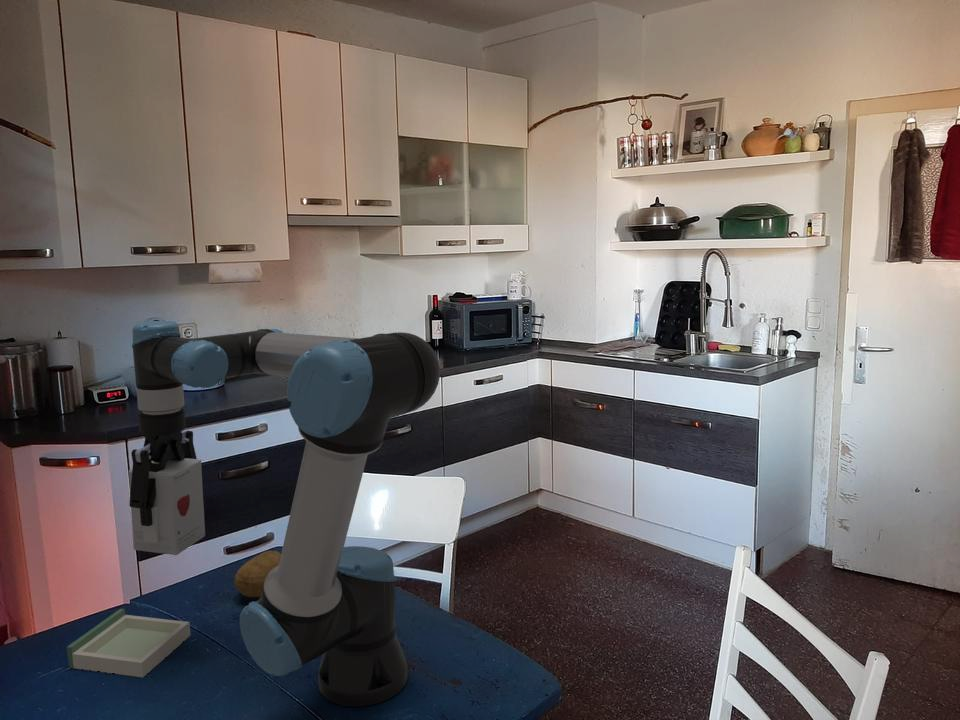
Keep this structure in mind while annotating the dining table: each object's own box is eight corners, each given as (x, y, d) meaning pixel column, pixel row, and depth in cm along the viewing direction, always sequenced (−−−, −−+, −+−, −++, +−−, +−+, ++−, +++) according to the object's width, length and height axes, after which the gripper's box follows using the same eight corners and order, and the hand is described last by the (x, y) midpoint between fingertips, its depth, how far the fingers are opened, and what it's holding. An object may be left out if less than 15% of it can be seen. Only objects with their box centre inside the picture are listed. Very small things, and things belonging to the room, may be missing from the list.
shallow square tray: (190, 635, 143) (188, 616, 142) (142, 677, 129) (140, 656, 129) (122, 627, 146) (120, 608, 145) (68, 667, 132) (66, 647, 132)
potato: (298, 579, 166) (296, 545, 164) (268, 610, 152) (266, 573, 151) (258, 575, 168) (256, 542, 166) (225, 605, 154) (222, 569, 153)
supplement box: (177, 556, 129) (171, 474, 127) (132, 551, 131) (126, 470, 129) (207, 535, 138) (202, 458, 135) (164, 530, 140) (159, 454, 137)
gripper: (181, 394, 141) (188, 506, 146) (97, 423, 121) (108, 553, 125) (216, 397, 140) (222, 510, 144) (137, 427, 119) (147, 558, 123)
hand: (169, 530), depth 134 cm, fingers closed on supplement box, 9 cm apart
